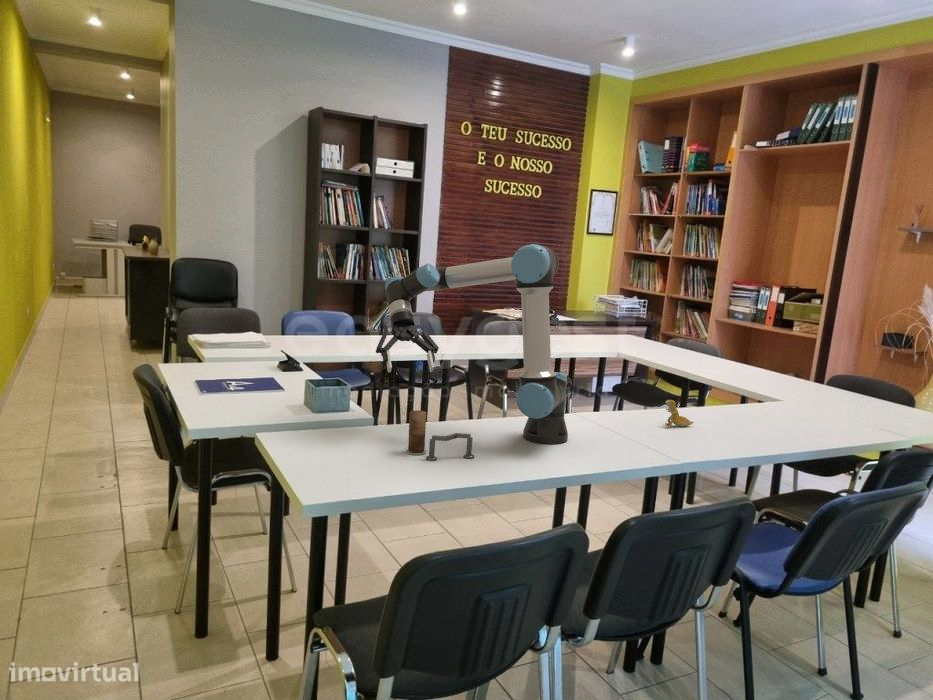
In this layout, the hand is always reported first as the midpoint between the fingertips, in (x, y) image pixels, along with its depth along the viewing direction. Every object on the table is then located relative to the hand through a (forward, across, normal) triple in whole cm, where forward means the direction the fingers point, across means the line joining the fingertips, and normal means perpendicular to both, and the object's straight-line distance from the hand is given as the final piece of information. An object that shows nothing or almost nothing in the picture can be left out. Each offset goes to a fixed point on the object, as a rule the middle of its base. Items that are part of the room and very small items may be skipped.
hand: (411, 370), depth 209 cm
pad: (+24, 0, -10) cm, 26 cm away
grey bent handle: (+29, -8, -5) cm, 30 cm away
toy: (+12, -107, -22) cm, 110 cm away
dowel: (+23, 0, -10) cm, 25 cm away
